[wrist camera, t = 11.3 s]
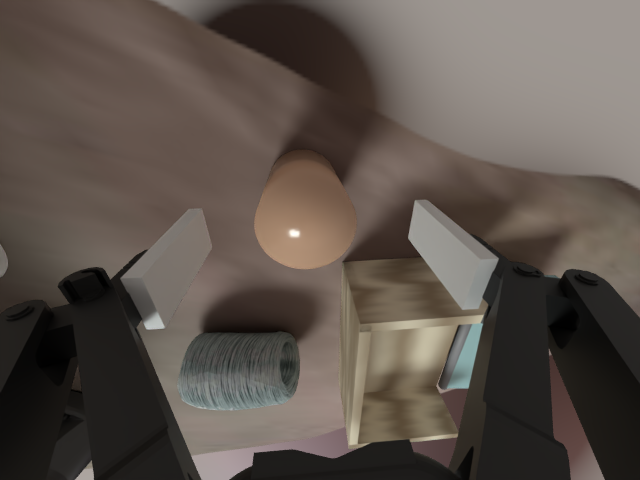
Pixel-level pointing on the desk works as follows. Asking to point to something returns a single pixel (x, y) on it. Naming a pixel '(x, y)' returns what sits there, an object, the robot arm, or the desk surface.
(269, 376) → the spool
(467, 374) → the cabinet door
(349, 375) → the crate
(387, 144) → the desk surface
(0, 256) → the figurine
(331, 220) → the brown egg
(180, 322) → the desk surface
